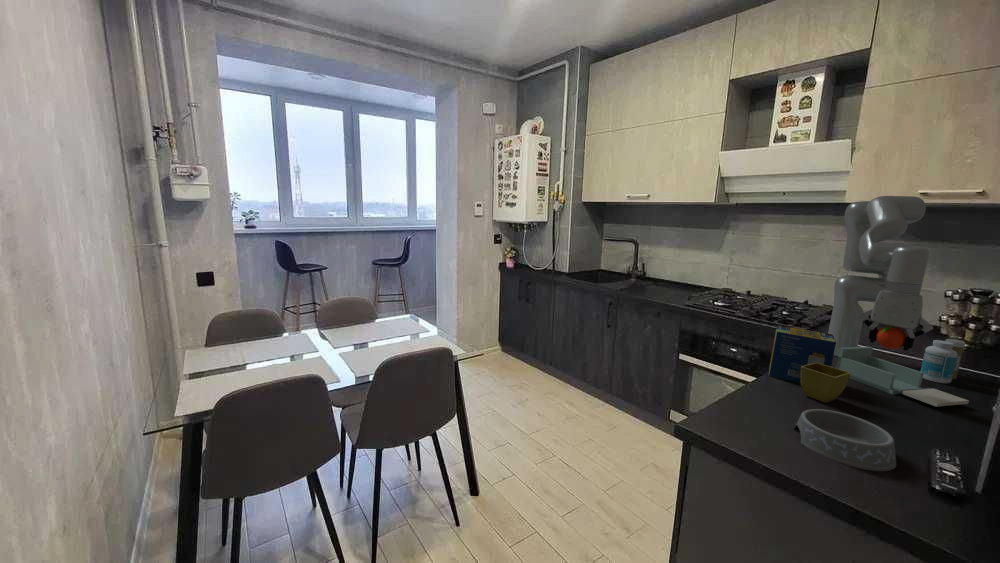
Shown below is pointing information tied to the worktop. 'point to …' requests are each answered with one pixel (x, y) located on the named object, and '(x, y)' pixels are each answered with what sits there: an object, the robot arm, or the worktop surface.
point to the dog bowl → (847, 439)
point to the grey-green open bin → (877, 370)
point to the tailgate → (934, 397)
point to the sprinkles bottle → (958, 348)
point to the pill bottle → (939, 362)
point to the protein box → (799, 351)
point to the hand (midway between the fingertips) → (889, 345)
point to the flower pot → (823, 381)
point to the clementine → (891, 337)
